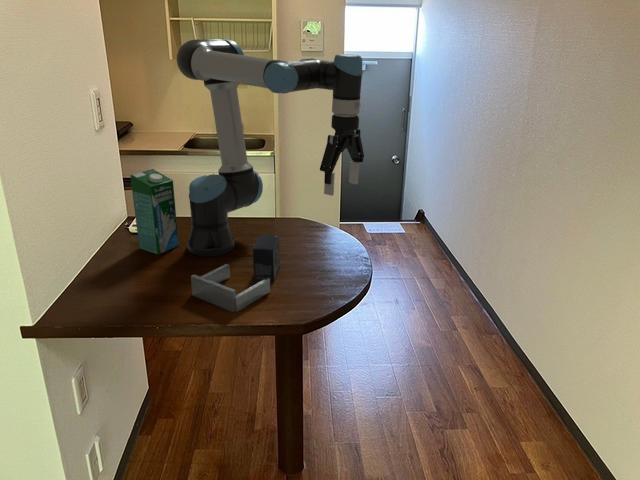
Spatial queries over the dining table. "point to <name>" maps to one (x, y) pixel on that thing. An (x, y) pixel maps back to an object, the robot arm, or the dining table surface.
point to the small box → (266, 257)
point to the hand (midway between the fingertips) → (341, 188)
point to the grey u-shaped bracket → (226, 290)
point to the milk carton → (154, 211)
